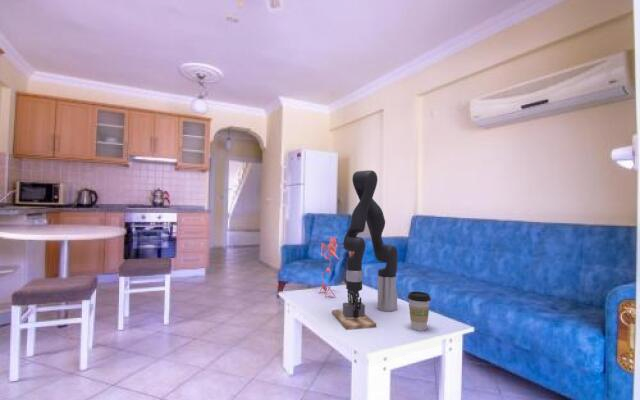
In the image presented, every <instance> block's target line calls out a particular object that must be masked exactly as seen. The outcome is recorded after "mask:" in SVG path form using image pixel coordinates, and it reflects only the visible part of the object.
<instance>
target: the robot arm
mask: <svg viewBox="0 0 640 400" xmlns="http://www.w3.org/2000/svg"><path fill="white" fill-rule="evenodd" d="M352 184H353V188H354V191H355V193H356V195H357V197H358V200H359V202H358V203H357V204H356V206H355V207H354V209H353V212H352V214H351V218H350V225H349V228H348V229H347V232H346V233H345V236H344V239H343V248H344V250H346V251H348V252H351V253H352V252H353V256H348V257H347V259H346V273H345V278H346V279H345V288H346V290H347V303H352V305H353V309H354V310H353V317H354V318H358V310H360V309H361V302H362V297H360V291H362V290H363V270H362V269H363V264H362V261H363V259H364V254H365V251H366V247H367V246H366V241H365V239H364V238H363V237H361V236H360V237H359V236H358V235H359V234H361V233H364V231H365V229H366V225H367V227H368V231H369V234H370V238H371V242H372V249H373V253H374V257H375V259H376V260H377V262H380V263H385V267H384V268H383V267H382V268H379V269H378V270H377V309H378V310H380V311H382V312H394V311H398V291H397V288H396V287H397V270H398V260H399V259H398V258H399V257H398V256H399V251H398V248H397V247H396V246H395V245H390V244H384V242H383V238H382V236H383V235H382V234H383V231H384V230H385V225H386V220H385V219H386V218H385V215H384V211H383V209H382V208H381V206H380V205H379V204H378V203H377V201H375V200H374V198H373V197H374V194H375V191H376V188H377V185H378V175H377V173H376V171H374V170H373V169H371V170H370V169H369V170H368V169H367V170H359V171H355V172H354V173H353V175H352Z"/></svg>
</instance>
